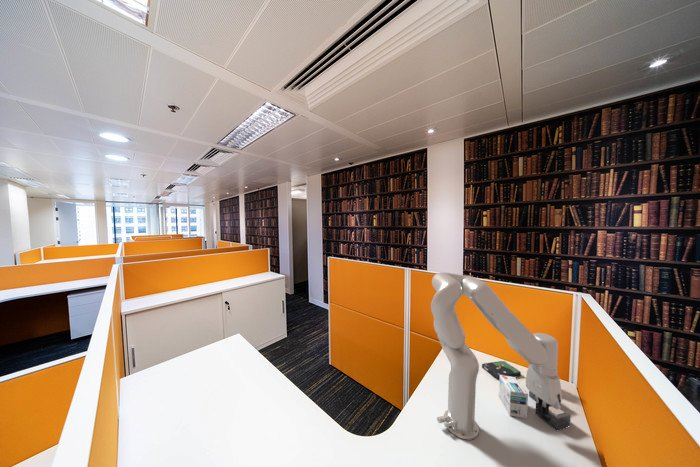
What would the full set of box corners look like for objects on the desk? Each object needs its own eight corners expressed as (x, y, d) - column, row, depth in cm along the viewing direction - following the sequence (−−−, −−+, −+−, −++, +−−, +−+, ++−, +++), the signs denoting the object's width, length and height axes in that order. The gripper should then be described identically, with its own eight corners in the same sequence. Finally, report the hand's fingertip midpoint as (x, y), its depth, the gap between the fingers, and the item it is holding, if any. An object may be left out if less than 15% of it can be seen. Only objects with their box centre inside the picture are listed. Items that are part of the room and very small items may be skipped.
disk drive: (497, 381, 115) (521, 376, 118) (497, 376, 115) (521, 371, 118) (481, 368, 125) (503, 364, 128) (481, 363, 125) (503, 359, 128)
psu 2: (556, 431, 87) (556, 418, 87) (534, 413, 95) (535, 402, 95) (569, 426, 89) (570, 414, 89) (547, 410, 97) (548, 398, 97)
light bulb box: (527, 419, 93) (529, 394, 92) (509, 416, 94) (510, 391, 93) (514, 399, 103) (515, 376, 102) (497, 396, 104) (498, 374, 104)
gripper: (517, 357, 92) (516, 400, 93) (558, 383, 78) (557, 433, 79) (531, 354, 94) (530, 396, 95) (574, 378, 79) (573, 428, 80)
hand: (542, 413), depth 87 cm, fingers closed
